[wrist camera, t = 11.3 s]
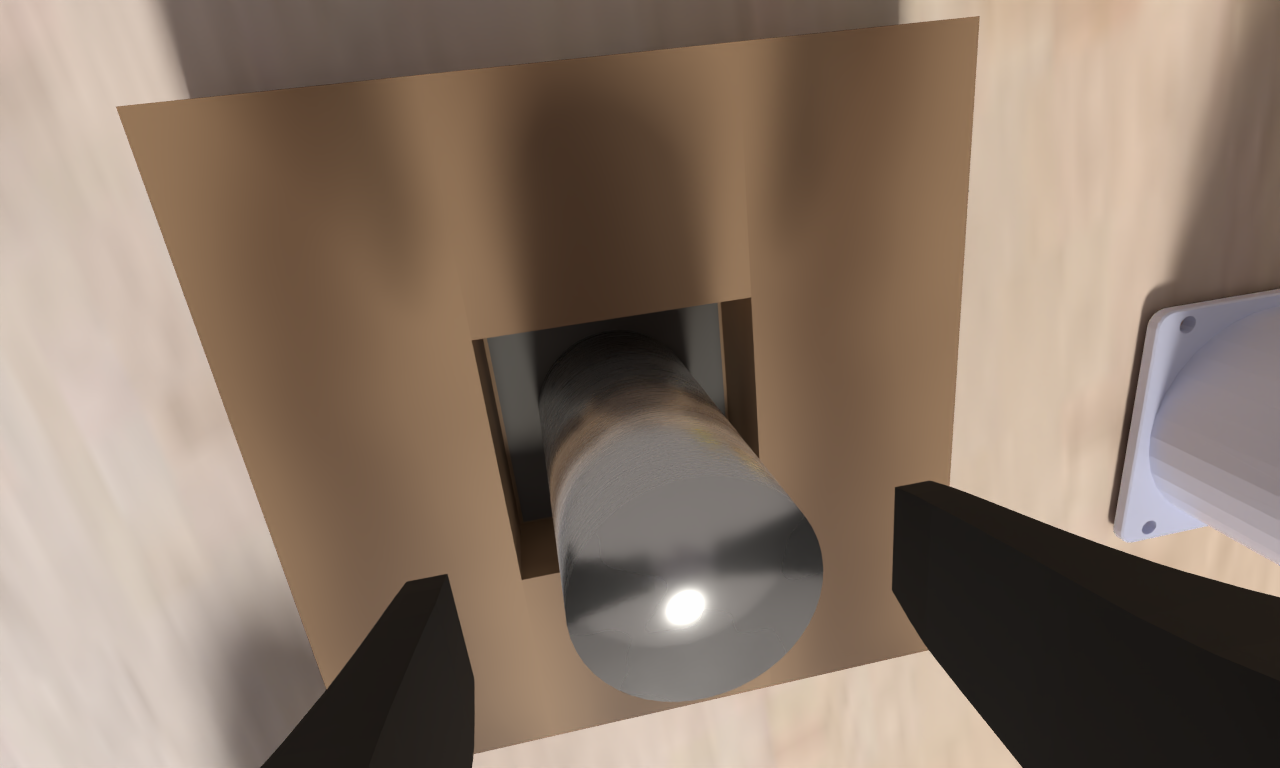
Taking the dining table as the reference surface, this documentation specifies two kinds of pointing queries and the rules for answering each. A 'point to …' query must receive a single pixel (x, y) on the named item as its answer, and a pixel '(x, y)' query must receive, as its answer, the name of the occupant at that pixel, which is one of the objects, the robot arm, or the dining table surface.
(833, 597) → the socket block
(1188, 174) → the dining table surface
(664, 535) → the steel pin
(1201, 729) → the robot arm
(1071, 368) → the dining table surface
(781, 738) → the dining table surface
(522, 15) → the dining table surface
